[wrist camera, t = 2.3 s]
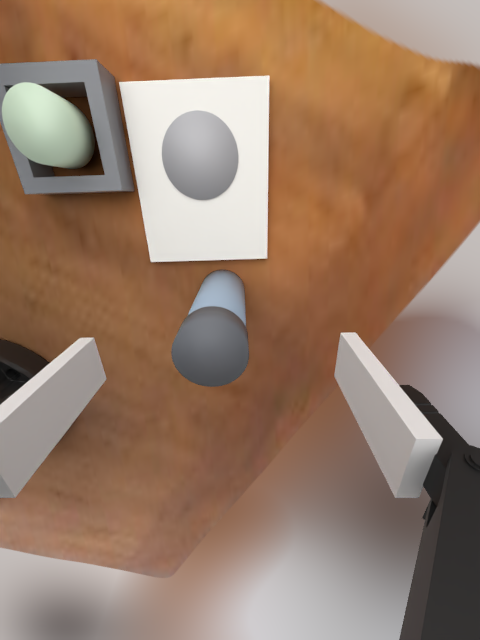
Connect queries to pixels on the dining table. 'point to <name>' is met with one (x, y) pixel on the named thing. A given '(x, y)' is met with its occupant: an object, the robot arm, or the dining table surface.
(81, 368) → the robot arm
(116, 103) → the button housing
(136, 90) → the white flat plate
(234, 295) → the capped blue-grey cylinder
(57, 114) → the button
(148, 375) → the dining table surface
